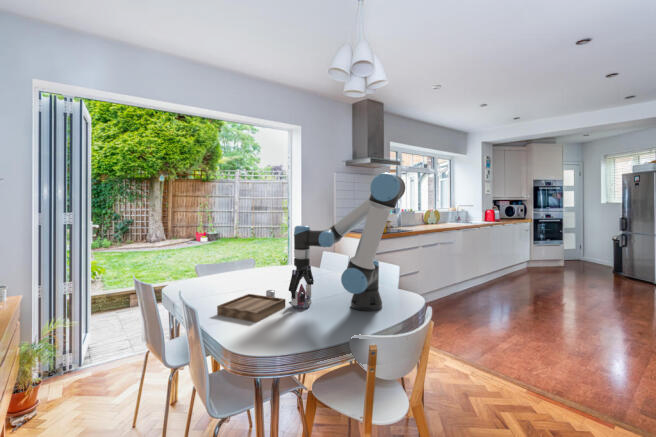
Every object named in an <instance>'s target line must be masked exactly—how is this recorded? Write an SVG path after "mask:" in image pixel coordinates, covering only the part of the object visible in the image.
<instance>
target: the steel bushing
mask: <svg viewBox="0 0 656 437" xmlns="http://www.w3.org/2000/svg"><path fill="white" fill-rule="evenodd" d="M265 296H268V297H275V298H276V291H275V290H274V289H267V290H266V291H265Z"/></svg>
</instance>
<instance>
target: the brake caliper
mask: <svg viewBox="0 0 656 437" xmlns="http://www.w3.org/2000/svg"><path fill="white" fill-rule="evenodd" d="M298 289H299V290H298V291H297V306H295V305H292V298H291V297H290V298H291V301H289V302H288V304H289V305H291V306H292V307H293V308H294V309H297V310H298V309H309V307H310V306H311V304H312V299H311V298H312V297H311V298H310V295H307V297H306V289H305V287H304V286H303V284H302V283H301V284H300V286H299V288H298Z"/></svg>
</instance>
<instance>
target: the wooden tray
mask: <svg viewBox="0 0 656 437" xmlns="http://www.w3.org/2000/svg"><path fill="white" fill-rule="evenodd" d="M285 308H286V298H281V297H276V296H275V297H268V296H266V295H259V294H253V293H247V294H245V295H242V296H240V297H237V298H234V299H231V300H230V301H227V302H224V303H222V304H219V305H216V311H217V312H216V313H217V314H216V315H218V316H220V317H221V316H222V317H228V318H232V319H239V320H244V321H249V322H254V323H258V322H260V321H262V320H264V319H265V318H267V317H269V316H271V315H273V314H275V313H277V312H280V310H283V309H285Z"/></svg>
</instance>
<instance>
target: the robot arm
mask: <svg viewBox="0 0 656 437" xmlns="http://www.w3.org/2000/svg"><path fill="white" fill-rule="evenodd" d="M369 191H370V195H369V197H368V198H367V199H365V200H364V201H363V202H362V203H360V204H359V205H357V206H356V207H355V208H354V209H353V210H351V211H350V212H348V213H347V214H346V215H345V216H343V217H342V218H341V219H340V220H339V221H337V222H336V223H335V224H333V225H332V226H331V227H329V228H327V229H323V230H314V229H313V230H311V228H310V226H309V225H296V226H294V229H293V230H294V232H293V247H294V248H293V256H294V259H293V266H294V267H295V269H292V272H291V278H290V282H289V286H288V291H289V292H290V293H291V297H290V298H292V300H291V301H292V305H295V306H297V292H298V289H299V288H298V287H299V284H300V282H301V280H302V279H304V281H305V282H306V284H305V292H306V296H305V297H306V298H307V295H310V298H312V285H314V282H315V280H314V276H313V273H312V268H311V267H312V266H311V264H310V262H311V261H310V260H311V259H310V257H311V253H310V251H311V250H310V247H320V248H331V247H333V245H334V244H337V243H339V242H340V241H341V239H343V237H346V235H347V234H348V233H350V232H352V231H354V229H356V228H357V227H358V226H360V225H361V224H362V223H364V222H365V223H364V225H363V230H362V231H361V235H360V238H359V241H358V245H357V248H356V250H355V254H354V256H352V257H350V258H349V260H348V264H347V267H346V269H345V270H344V271H343V273H342V274H341V275H340V276H341V278H340V281H341V285H342V286H343V289H345V291H346V292H348V293H350V294H352V297H351V301H350V307H352V309H354V310H358V311H364V312H372V311H379V310H381V309H382V308H383V300H382V298H381V295H380V294H381V293H380V292H379V291H380V290H379V288H380V287H379V282H380V280H379V278H380V276H379V274H380V273H379V272H380V264H379V261H378V260H377V259H375V258H376V255H377V251H378V248H379V246H380V243H381V239H382V236H383V234H384V230H385V228H386V225H387V222H388V219H389V216H390V213H391V211H393V210H395V209H396V206H397V204H398V201H399V200H400V199H401V198H402V197H403V195H405V191H406V184H405V182H404V180H403V179H402V178H401V176H398V175H396V174H393V173H389V172H382V173H379V174H377V175H376V176H375V177H374V178H373V179H372V180H371V183H370V187H369ZM292 305H291V306H292Z"/></svg>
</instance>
